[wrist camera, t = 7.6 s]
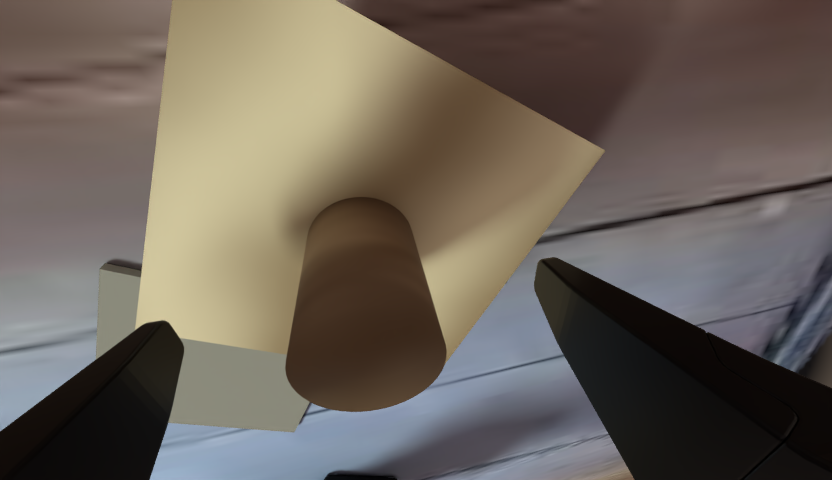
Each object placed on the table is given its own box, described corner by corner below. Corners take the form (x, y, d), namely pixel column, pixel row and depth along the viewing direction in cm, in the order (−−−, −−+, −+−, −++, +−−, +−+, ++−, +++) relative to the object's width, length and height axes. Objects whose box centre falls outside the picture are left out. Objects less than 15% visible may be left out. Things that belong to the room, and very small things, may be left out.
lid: (589, 142, 11) (747, 228, 7) (430, 362, 16) (462, 494, 11) (197, -77, 7) (-58, -224, 2) (146, 312, 12) (30, 489, 7)
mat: (351, 315, 19) (351, 321, 18) (294, 426, 24) (294, 432, 23) (105, 263, 15) (99, 269, 14) (97, 410, 19) (93, 417, 19)
